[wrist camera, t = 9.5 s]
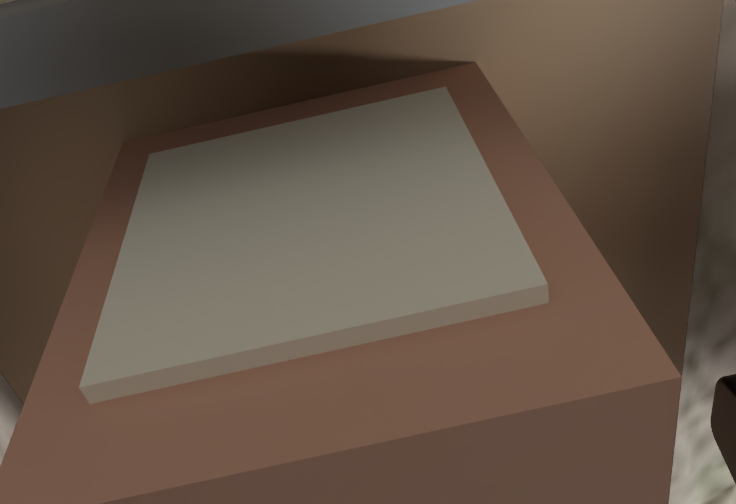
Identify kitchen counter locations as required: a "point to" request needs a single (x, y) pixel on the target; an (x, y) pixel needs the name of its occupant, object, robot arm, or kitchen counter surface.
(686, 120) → the tan banded flat block
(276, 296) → the product carton
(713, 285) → the kitchen counter surface
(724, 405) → the robot arm
